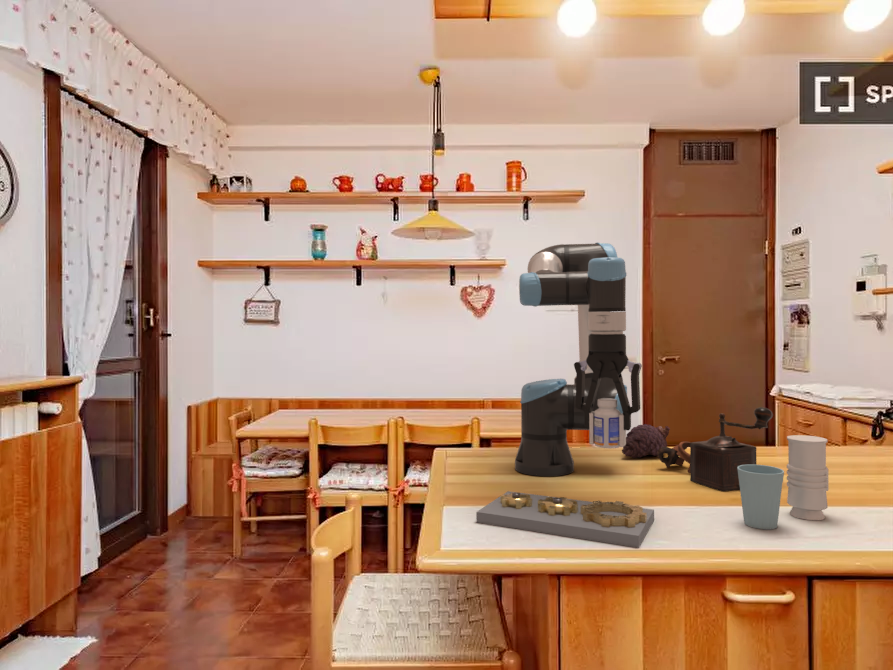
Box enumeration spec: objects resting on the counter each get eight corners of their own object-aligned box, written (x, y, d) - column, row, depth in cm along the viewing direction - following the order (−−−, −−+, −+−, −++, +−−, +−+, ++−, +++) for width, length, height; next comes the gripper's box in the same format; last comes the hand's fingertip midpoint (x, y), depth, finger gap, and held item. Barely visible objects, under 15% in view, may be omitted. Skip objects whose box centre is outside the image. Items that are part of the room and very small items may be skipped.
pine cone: (641, 464, 161) (621, 431, 165) (622, 474, 170) (603, 442, 173) (686, 440, 169) (666, 409, 172) (667, 451, 177) (648, 421, 180)
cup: (729, 524, 112) (730, 468, 112) (748, 515, 117) (748, 462, 117) (773, 534, 106) (773, 476, 106) (790, 525, 111) (790, 469, 111)
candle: (828, 523, 112) (828, 443, 112) (785, 517, 116) (785, 439, 115) (828, 513, 118) (828, 437, 118) (787, 508, 121) (787, 434, 121)
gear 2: (572, 522, 108) (572, 514, 108) (589, 504, 119) (589, 497, 118) (640, 531, 103) (640, 523, 103) (651, 512, 113) (651, 505, 113)
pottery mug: (690, 466, 160) (704, 442, 157) (701, 490, 152) (716, 465, 148) (647, 456, 160) (660, 431, 156) (656, 479, 151) (670, 454, 148)
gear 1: (532, 512, 114) (532, 501, 114) (545, 502, 121) (545, 491, 121) (571, 518, 110) (571, 506, 110) (582, 506, 117) (582, 496, 117)
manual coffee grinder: (724, 492, 133) (724, 411, 133) (688, 481, 143) (688, 405, 143) (777, 485, 138) (777, 407, 138) (739, 474, 149) (738, 402, 148)
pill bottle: (621, 444, 127) (621, 398, 126) (620, 449, 122) (620, 401, 121) (595, 442, 128) (595, 397, 128) (592, 447, 123) (593, 400, 123)
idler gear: (495, 506, 118) (495, 495, 118) (507, 498, 124) (507, 488, 124) (525, 510, 115) (525, 499, 115) (536, 502, 121) (536, 491, 121)
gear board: (476, 522, 115) (476, 511, 115) (508, 500, 129) (508, 491, 129) (638, 547, 101) (638, 535, 101) (654, 520, 115) (654, 509, 115)
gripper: (558, 333, 125) (559, 444, 126) (650, 333, 117) (650, 452, 117) (568, 332, 132) (569, 437, 133) (656, 332, 123) (656, 444, 124)
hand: (607, 444), depth 125 cm, fingers closed on pill bottle, 5 cm apart
